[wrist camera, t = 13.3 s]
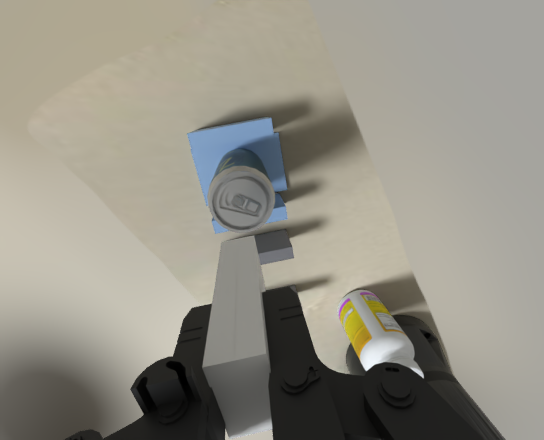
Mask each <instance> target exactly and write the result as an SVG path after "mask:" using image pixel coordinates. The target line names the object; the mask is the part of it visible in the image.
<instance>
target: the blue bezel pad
mask: <svg viewBox="0 0 544 440" xmlns="http://www.w3.org/2000/svg"><path fill="white" fill-rule="evenodd" d="M234 149H247V150H250V151H252V152H254V153H255V154H257V155H258V157H259V158H260V159H261V160H262V162H263V165H264V167H265V169H266V172H267V174H268V176H269V179H270V181H271V183H272V186H273V189H274V191H275V192H279V191H284V190H287V185H286V178H285V172H284V165H283V159H282V152H281V146H280V140H279V133H278V132H277V133H274V134H272V135H267V136H262V137H257V138H251V139H246V140H241V141H236V142H231V143H225V144H220V145H215V146H210V147H204V148H199V149H194V150H192V149H191V152H192V156H193V160H194V163H195V167H196V170H197V174H198V177H199V181H200V184H201V188H202V191H203V195H204V198H205V202H206V205H207V206H208V199H207V195H208V190H209V186H210V184H211V181H212V179H213V176H214V174H215V172H216V169H217V167H218V164H219V162H220V161H221V159H222V157H223V156H224V155H225V154H226V153H228V152H229V151H232V150H234Z"/></svg>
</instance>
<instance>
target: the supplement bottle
mask: <svg viewBox="0 0 544 440" xmlns="http://www.w3.org/2000/svg"><path fill="white" fill-rule="evenodd" d="M338 316H339V319H340V321H341V323H342V325H343V327H344V329H345V331H346V333H347V335H348V337H349V339H350V341H351V343H352V345H353V347H354V349H355V351H356V353H357V355H358V358H359V360H360V362H361V364H362V365H363V367H364V369H365V370H366V371H367V370H369V369H370V368H371V367H372V366H373V365H375V364H379V363H383V362H392V363H399V364H401V365H404V366H406V367H409V368H411V369H412V370H413V371H415V372H416V373H417V374H419V375H420V376H421V377H422V378H423V379H424V375H423V372H422V370H421V369H420V367H419V366H418V364H417V363H416V362H415V361H414V360H413V359H414V347H413V344H412V343H411V341H410V340H409V338H408V337H407V335H406V334H405V333H404V332H403V330H402V329H401V328H400V326H399V325H398V324H397V322H396V321H395V320H394V318H393V317H392V316H391V314H390V313H389V311H388V310H387V309H386V307H385V306H384V305H383V303H382V302H381V301H380V300H379V298H378V297H377V296H376V295H375V294H374V293H372V292H370V291H367V290H357V291H353V292H351V293H349V294H347V295H346V296H345V297H344V298H343V299H342V300H341V301H340V303H339V305H338Z"/></svg>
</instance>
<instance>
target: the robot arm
mask: <svg viewBox="0 0 544 440" xmlns="http://www.w3.org/2000/svg"><path fill="white" fill-rule="evenodd" d="M392 317H393V318H394V320H395V321H396V322H397V324H398V325H399V326H400V328H401V329H402V330H403V332H404V333H405V334H406V335H407V337H408V338H409V340H410V341H411V343H412V344H413V347H414V359H413V360H414V361H415V362H416V363H417V364H418V366H419V367H420V369H421V370H422V372H423V375H424V379H423V378H422V377H421V376H420V375H419V374H417V373H416V372H415V371H413V370H412V369H411V368H409V367H406V366H404V365H401V364H399V363H392V362H383V363H379V364H375V365H373V366H372V367H371V368H370V369H369V370H367V371H366V370H365V369H364V367H363V365H362V364H361V362H360V360H359V358H358V355H357V353H356V351H355V349H354V347H353V345H352V343H350V345H349V348H348V350H347V354H346V363H347V366H348V369H349V371H350V373H351V375H350V374H344V373H339V372H336V371H334V370H331V369H329V368H328V367H327V366H325V365H324V364H323V363H322V362H321V361H320V360H319V359H318V357H317V355H316V353H315V350H314V347H313V343H312V340H311V337H310V334H309V330H308V327H307V324H306V321H305V318H304V315H303V311H302V308H301V305H300V301H299V298H298V295H297V294H296V293H295V292H294V291H293V290H292V289H291V288H290V287H284V288H279V289H275V290H270V291H266V289H265V283H264V278H263V274H262V269H261V265H260V260H259V256H258V251H257V247H256V242H255V238H254V235H253V236H248V237H243V238H238V239H233V240H228V241H224V242H222V243H221V250H220V256H219V263H218V269H217V275H216V282H215V288H214V295H213V301H212V304H208V305H203V306H199V307H194V308H192V309H191V310H190V311H189V313H188V314H187V316H186V317H185V318H184V320H183V323H182V327H181V330H180V334H179V338H178V341H177V345H176V348H175V351H174V355H173V357H167V358H164V359H161V360H159V361H157V362H155V363H154V364H152V365H150V366H149V367H147V368H146V369H145V370H144V371H143V372H142V373H141V374H140V375H139V376H138V378H137V379H136V380H135V382H134V384H133V385H132V387H131V391H132V393H133V395H134V397H135V399H136V401H137V402H138V404H139V406H140V408H141V409H142V411H143V413H144V415H143V416H142V417H141V418H139V419H138V420H136V421H135V422H133V423H132V424H130V425H128V426H126V427H124V428H122V429H121V430H119V431H117V432H115V433H113V434H111V435H109V436H107V437H106V438H104V439H103V437H102V436H101V434H100V433H99V432H97V431H94V430H85V431H80V432H78V433H76V434H74V435H72V436H70V437H68V438H66V439H65V440H225V428H226V431H227V434H228V436H229V439H233V438H237V437H242V436H246V435H250V434H255V433H259V432H263V431H268V430H273V440H505V438H504V437H503V436H502V435H501V434H500V432H499V431H498V430H497V429H496V427H495V426H494V425H493V424H492V423H491V422H490V420H489V419H488V418H487V417H486V415H485V414H484V413H483V411H482V410H481V409H480V408H479V407H478V405H477V404H476V403H475V402H474V400H473V399H472V398H471V397H470V396H469V394H468V393H467V392H466V391H465V389H464V388H463V387H462V386H461V385H460V384H459V382H458V381H457V380H456V378H455V377H454V376H453V374H452V372H451V370H450V368H449V365H448V363H447V360H446V358H445V356H444V353H443V351H442V348H441V346H440V344H439V341H438V339H437V338H436V336H435V335H434V333H433V332H432V331H431V330H430V329H429V328H428V326H427V325H426V324H425V323H424V322H422V321H421V320H419V319H417V318H414V317H410V316H392Z"/></svg>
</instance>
